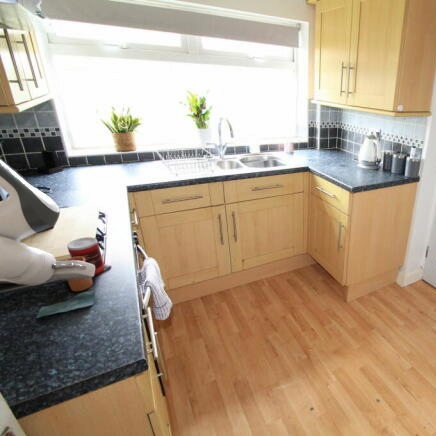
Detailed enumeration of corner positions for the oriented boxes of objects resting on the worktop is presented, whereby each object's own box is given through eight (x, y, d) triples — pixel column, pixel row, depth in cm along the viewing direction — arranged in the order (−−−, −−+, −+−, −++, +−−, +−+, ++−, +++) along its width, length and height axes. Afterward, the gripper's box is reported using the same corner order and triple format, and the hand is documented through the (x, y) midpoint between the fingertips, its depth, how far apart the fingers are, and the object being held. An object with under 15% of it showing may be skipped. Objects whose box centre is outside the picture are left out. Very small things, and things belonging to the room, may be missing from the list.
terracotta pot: (66, 292, 96) (57, 266, 93) (77, 281, 101) (68, 256, 98) (87, 290, 97) (78, 265, 94) (96, 279, 102) (88, 255, 99)
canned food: (85, 265, 110) (76, 237, 105) (110, 264, 110) (101, 236, 106) (71, 278, 103) (60, 248, 98) (97, 277, 103) (88, 248, 99)
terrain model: (36, 324, 84) (34, 318, 83) (42, 308, 90) (40, 302, 89) (95, 308, 90) (94, 302, 89) (96, 294, 96) (95, 289, 95)
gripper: (80, 252, 82) (107, 264, 95) (-11, 257, 79) (30, 268, 92) (76, 276, 80) (104, 285, 93) (-18, 282, 77) (24, 290, 90)
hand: (66, 277), depth 92 cm, fingers open, 8 cm apart
